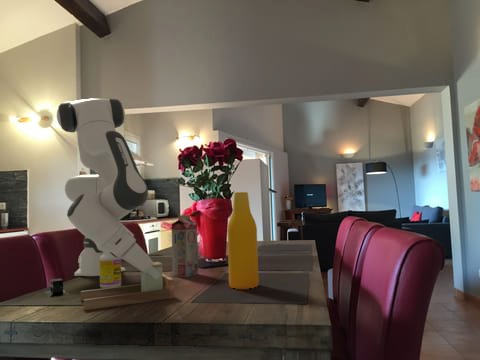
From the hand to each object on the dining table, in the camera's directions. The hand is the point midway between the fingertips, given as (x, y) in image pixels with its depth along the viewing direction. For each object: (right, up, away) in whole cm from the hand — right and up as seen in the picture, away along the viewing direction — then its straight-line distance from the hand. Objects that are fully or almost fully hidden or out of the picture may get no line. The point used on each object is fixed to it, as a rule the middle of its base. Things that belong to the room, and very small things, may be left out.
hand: (153, 274), depth 111 cm
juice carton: (+5, -8, +31) cm, 32 cm away
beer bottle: (+26, -6, +8) cm, 28 cm away
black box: (-31, -8, +7) cm, 33 cm away
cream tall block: (0, -6, -1) cm, 6 cm away
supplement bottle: (-17, -8, +14) cm, 24 cm away
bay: (-7, -6, -4) cm, 10 cm away
